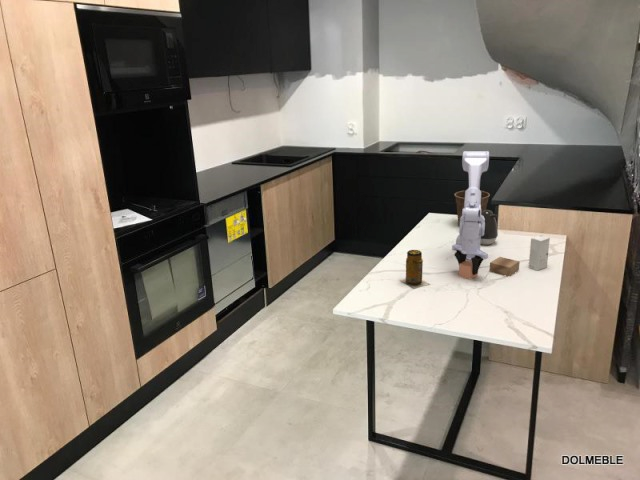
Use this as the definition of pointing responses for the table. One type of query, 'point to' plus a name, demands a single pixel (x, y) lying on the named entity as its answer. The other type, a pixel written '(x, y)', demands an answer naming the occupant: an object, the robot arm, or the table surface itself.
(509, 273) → the walnut block
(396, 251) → the table surface
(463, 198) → the plant pot
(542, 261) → the skincare box
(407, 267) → the condiment
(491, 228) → the dark grey rounded figure
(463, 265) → the terracotta cube
